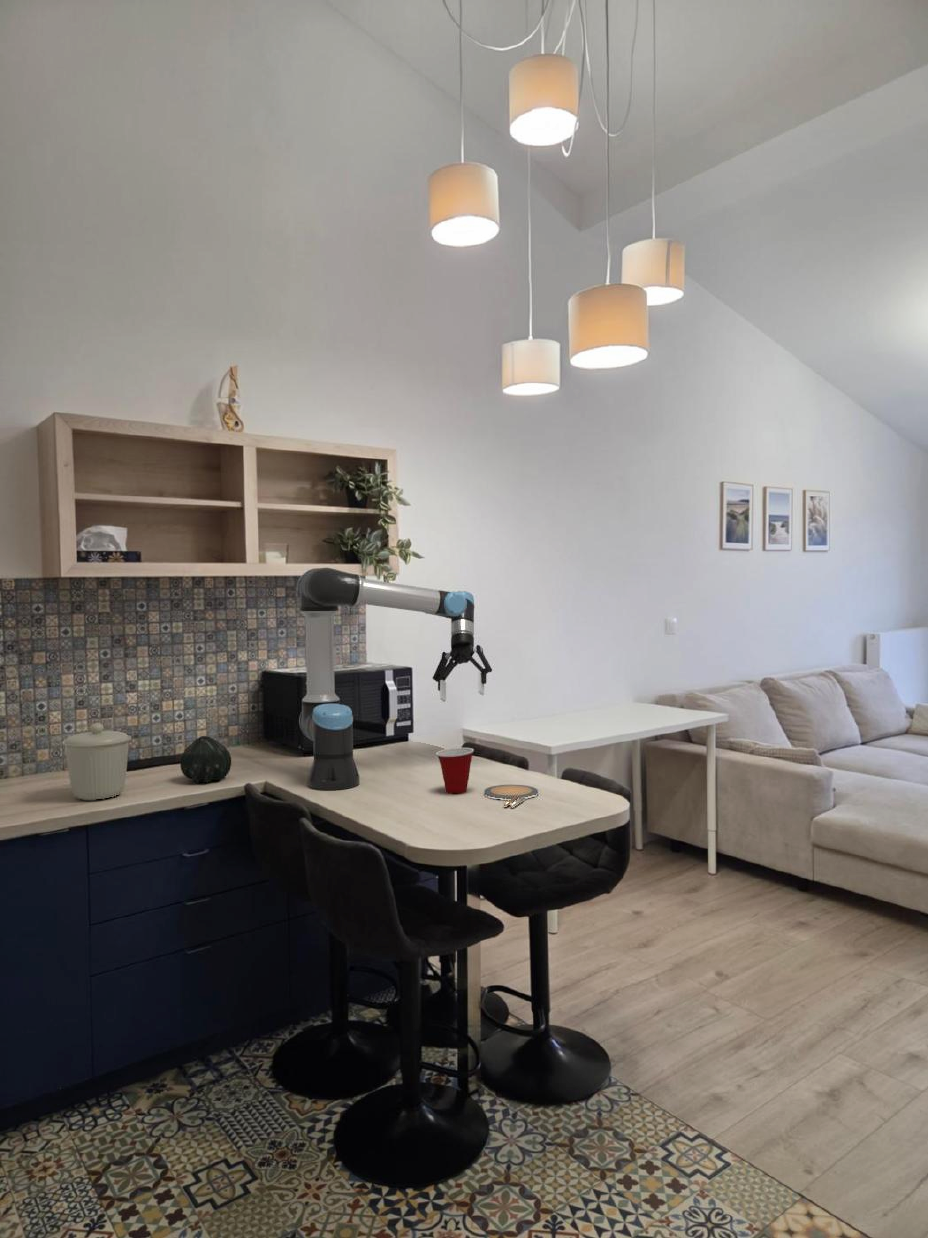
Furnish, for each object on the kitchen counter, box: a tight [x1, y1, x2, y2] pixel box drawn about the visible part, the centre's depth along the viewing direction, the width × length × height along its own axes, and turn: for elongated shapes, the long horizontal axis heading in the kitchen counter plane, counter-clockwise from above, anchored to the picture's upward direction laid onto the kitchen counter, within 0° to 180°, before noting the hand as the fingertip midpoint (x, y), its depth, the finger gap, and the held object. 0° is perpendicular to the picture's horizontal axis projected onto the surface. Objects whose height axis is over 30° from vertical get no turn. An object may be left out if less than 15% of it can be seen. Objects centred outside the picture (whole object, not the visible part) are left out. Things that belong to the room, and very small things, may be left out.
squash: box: [180, 735, 232, 783], centre depth 261 cm, size 14×15×15 cm
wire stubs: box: [503, 796, 525, 807], centre depth 226 cm, size 9×3×1 cm, turn 156°
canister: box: [61, 722, 132, 801], centre depth 242 cm, size 18×18×21 cm
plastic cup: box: [435, 747, 475, 794], centre depth 241 cm, size 11×11×12 cm
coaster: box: [483, 784, 539, 799], centre depth 237 cm, size 15×15×1 cm
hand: (461, 697), depth 269 cm, fingers open, 13 cm apart
